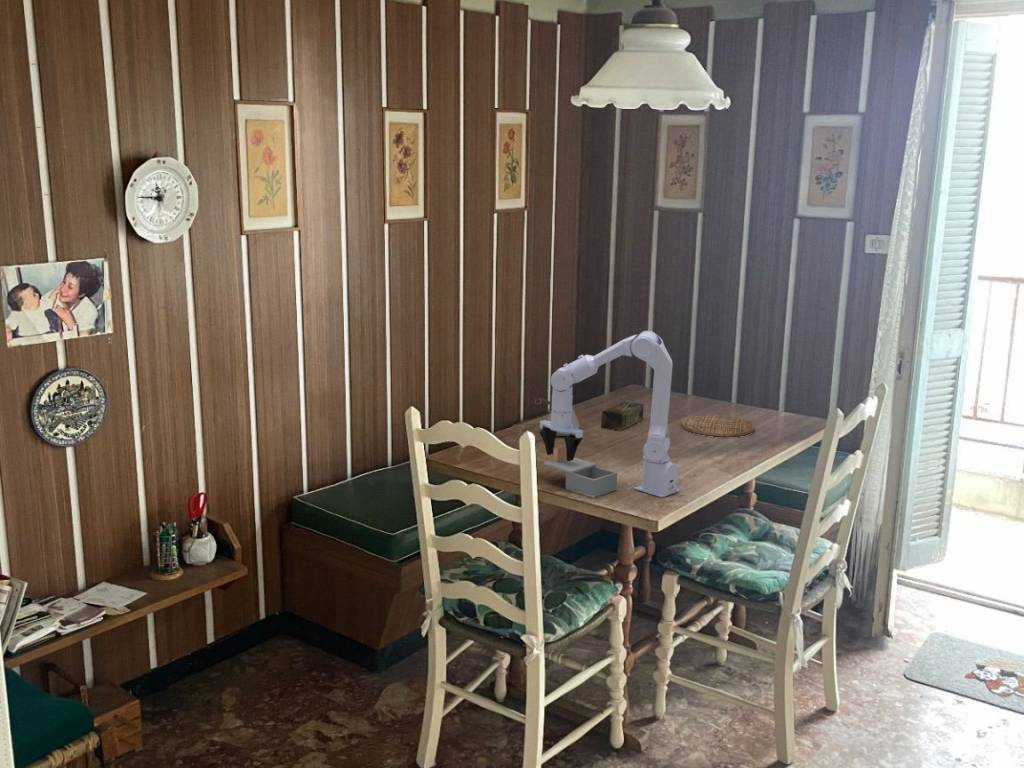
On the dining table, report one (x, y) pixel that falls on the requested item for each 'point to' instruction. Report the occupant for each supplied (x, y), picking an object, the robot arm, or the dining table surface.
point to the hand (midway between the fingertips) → (560, 457)
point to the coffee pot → (574, 418)
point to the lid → (563, 464)
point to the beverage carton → (622, 415)
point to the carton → (592, 481)
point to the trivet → (717, 425)
